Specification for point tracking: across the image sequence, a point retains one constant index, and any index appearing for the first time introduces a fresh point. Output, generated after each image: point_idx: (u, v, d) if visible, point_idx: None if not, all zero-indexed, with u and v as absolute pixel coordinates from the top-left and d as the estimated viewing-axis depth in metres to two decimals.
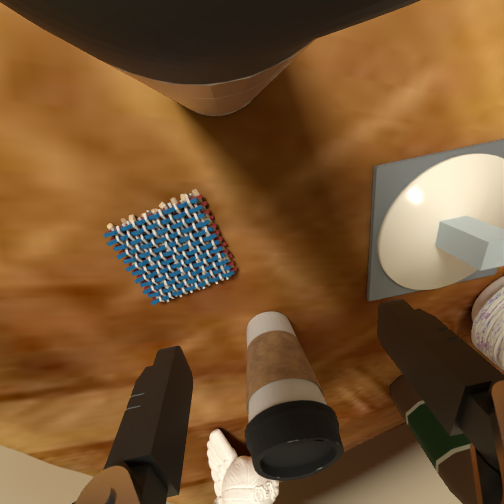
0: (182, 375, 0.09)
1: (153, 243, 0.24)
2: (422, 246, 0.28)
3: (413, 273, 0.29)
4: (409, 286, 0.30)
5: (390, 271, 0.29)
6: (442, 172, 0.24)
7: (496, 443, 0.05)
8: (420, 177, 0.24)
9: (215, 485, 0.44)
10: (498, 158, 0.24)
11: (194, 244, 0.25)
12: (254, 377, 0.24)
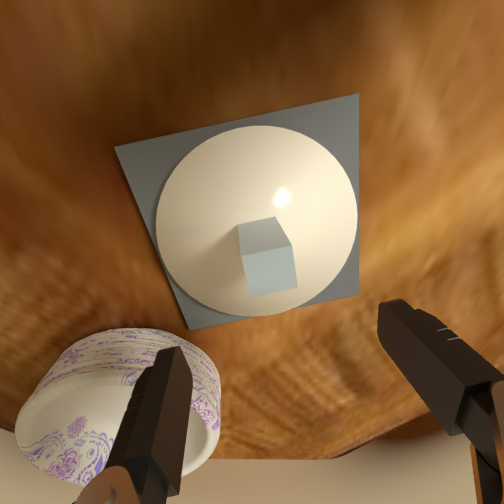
0: (182, 375, 0.09)
1: None
2: (236, 205, 0.18)
3: (187, 207, 0.18)
4: (160, 209, 0.18)
5: (189, 164, 0.17)
6: (343, 191, 0.18)
7: (496, 443, 0.05)
8: None
9: None
10: (346, 256, 0.21)
11: None
12: None
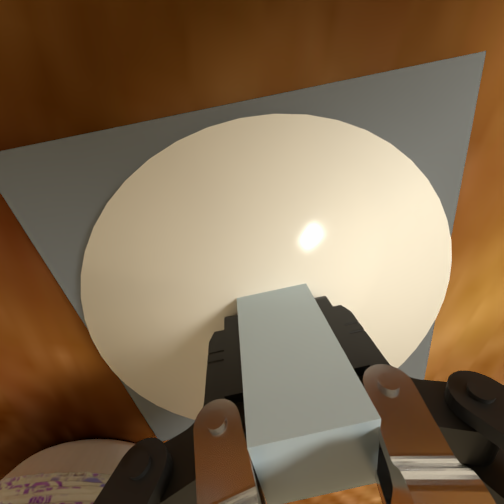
0: None
1: None
2: (235, 266, 0.10)
3: (140, 272, 0.09)
4: (88, 277, 0.09)
5: (138, 192, 0.08)
6: (432, 240, 0.10)
7: None
8: None
9: None
10: (420, 339, 0.12)
11: None
12: None
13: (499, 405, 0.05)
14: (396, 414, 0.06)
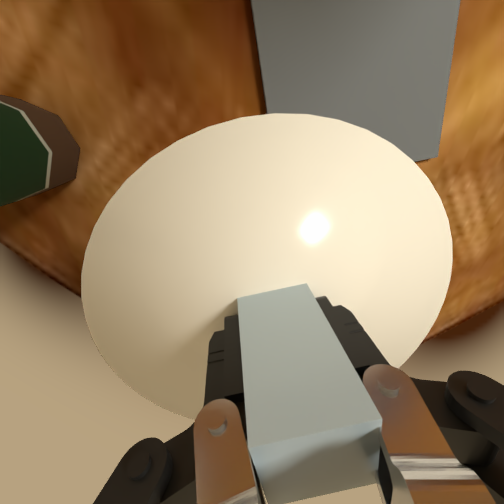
0: None
1: None
2: (235, 265, 0.10)
3: (140, 272, 0.09)
4: (88, 277, 0.09)
5: (138, 192, 0.08)
6: (432, 240, 0.10)
7: None
8: None
9: None
10: (420, 339, 0.12)
11: None
12: None
13: (499, 405, 0.05)
14: (396, 414, 0.06)
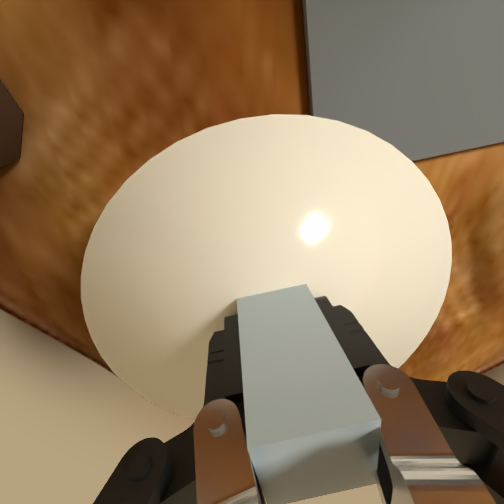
0: None
1: None
2: (235, 266, 0.10)
3: (140, 273, 0.09)
4: (88, 277, 0.09)
5: (138, 193, 0.08)
6: (432, 241, 0.10)
7: None
8: None
9: None
10: (420, 339, 0.12)
11: None
12: None
13: (499, 405, 0.05)
14: (396, 414, 0.06)
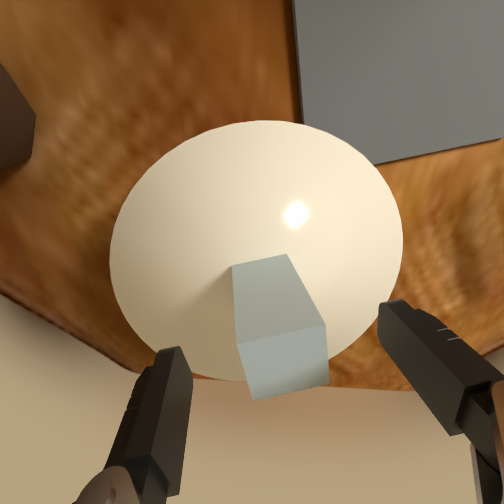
0: (182, 375, 0.09)
1: None
2: (230, 238, 0.12)
3: (156, 243, 0.12)
4: (116, 246, 0.12)
5: (156, 179, 0.11)
6: (385, 219, 0.13)
7: (496, 443, 0.05)
8: None
9: None
10: None
11: None
12: None
13: None
14: None
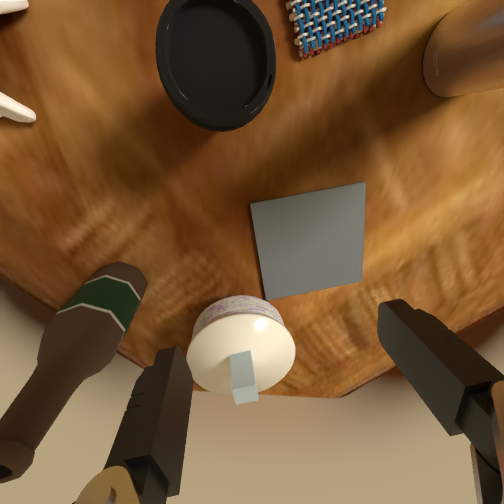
0: (182, 375, 0.09)
1: None
2: (229, 346, 0.34)
3: (203, 349, 0.34)
4: (189, 350, 0.34)
5: (206, 332, 0.33)
6: (286, 338, 0.35)
7: (496, 443, 0.05)
8: (283, 327, 0.34)
9: None
10: (291, 365, 0.37)
11: (344, 7, 0.26)
12: None
13: None
14: None
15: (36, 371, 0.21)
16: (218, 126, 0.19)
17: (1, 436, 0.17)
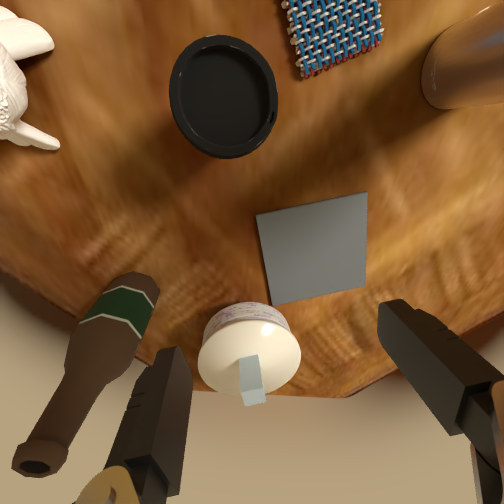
0: (182, 375, 0.09)
1: None
2: (238, 351, 0.36)
3: (213, 353, 0.36)
4: (200, 355, 0.36)
5: (215, 337, 0.35)
6: (291, 343, 0.37)
7: (496, 443, 0.05)
8: (288, 332, 0.36)
9: None
10: (297, 368, 0.39)
11: (342, 31, 0.27)
12: None
13: None
14: None
15: (65, 377, 0.24)
16: (226, 155, 0.20)
17: (40, 437, 0.19)
